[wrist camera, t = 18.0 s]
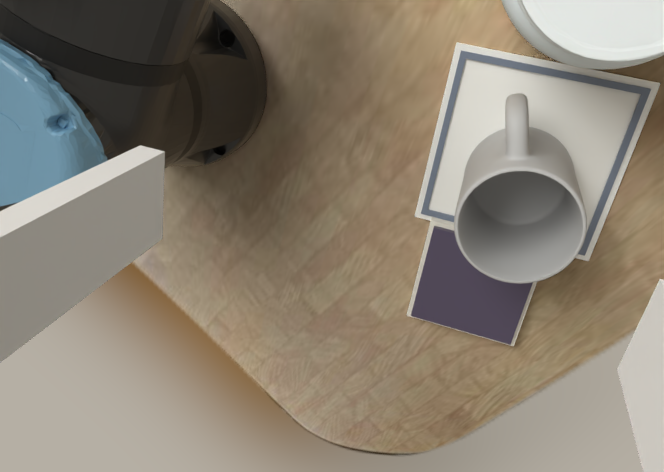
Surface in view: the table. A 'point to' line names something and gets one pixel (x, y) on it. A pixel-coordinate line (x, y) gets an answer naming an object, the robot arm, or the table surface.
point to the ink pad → (465, 291)
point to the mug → (520, 203)
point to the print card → (537, 125)
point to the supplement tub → (592, 30)
